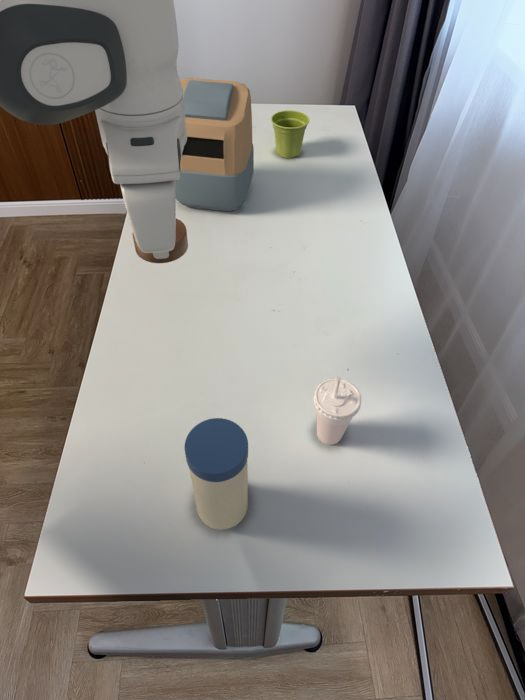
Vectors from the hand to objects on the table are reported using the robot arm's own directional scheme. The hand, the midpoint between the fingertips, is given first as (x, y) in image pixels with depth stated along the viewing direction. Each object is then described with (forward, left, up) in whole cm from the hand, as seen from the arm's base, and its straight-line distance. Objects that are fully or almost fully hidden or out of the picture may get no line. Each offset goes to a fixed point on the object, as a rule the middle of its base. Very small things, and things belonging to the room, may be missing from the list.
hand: (160, 235), depth 62 cm
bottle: (-14, -20, -27) cm, 36 cm away
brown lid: (0, 0, -2) cm, 2 cm away
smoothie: (+4, -26, -27) cm, 37 cm away
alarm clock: (+43, +28, -27) cm, 58 cm away
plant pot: (+69, +25, -27) cm, 78 cm away
